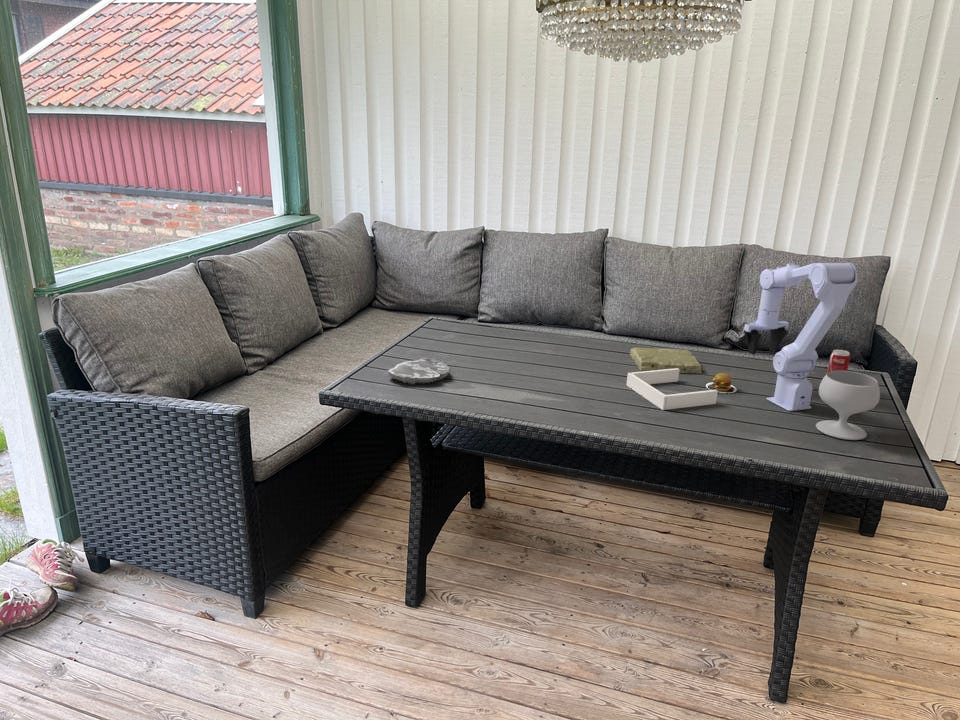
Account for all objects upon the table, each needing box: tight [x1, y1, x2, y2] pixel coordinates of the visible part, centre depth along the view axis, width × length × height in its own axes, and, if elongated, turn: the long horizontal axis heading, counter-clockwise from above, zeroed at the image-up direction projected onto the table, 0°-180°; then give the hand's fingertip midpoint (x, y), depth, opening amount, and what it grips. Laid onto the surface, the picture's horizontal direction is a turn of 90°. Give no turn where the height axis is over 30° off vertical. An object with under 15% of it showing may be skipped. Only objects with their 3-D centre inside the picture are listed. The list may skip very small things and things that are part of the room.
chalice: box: [815, 370, 881, 441], centre depth 180 cm, size 14×14×15 cm
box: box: [626, 368, 719, 411], centre depth 204 cm, size 20×18×4 cm
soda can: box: [826, 349, 851, 374], centre depth 210 cm, size 5×5×12 cm
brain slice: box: [387, 357, 451, 385], centre depth 213 cm, size 20×17×3 cm
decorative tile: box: [629, 346, 702, 374], centre depth 231 cm, size 19×20×4 cm
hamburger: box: [705, 372, 737, 394], centre depth 209 cm, size 12×12×6 cm
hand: (762, 352), depth 211 cm, fingers open, 7 cm apart
